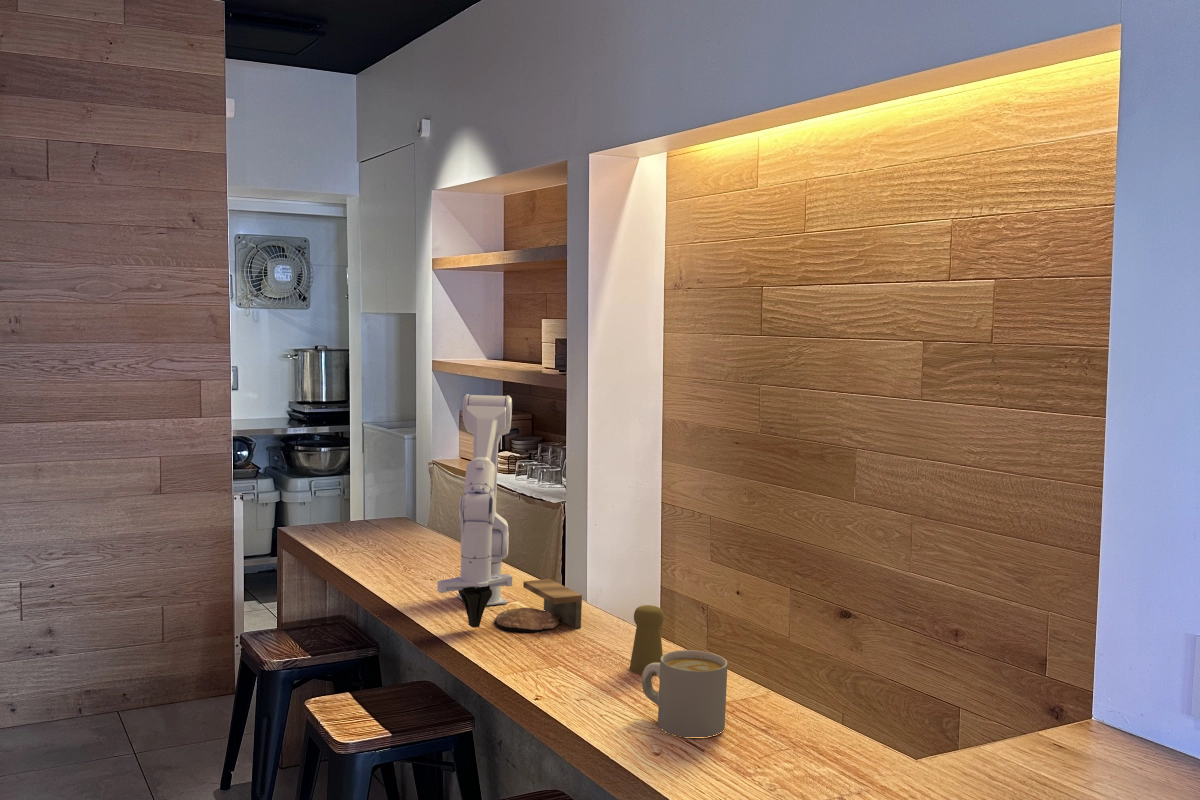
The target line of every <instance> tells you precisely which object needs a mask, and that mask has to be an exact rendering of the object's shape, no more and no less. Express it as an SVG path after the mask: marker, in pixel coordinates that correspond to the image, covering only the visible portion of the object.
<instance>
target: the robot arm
mask: <svg viewBox="0 0 1200 800" xmlns="http://www.w3.org/2000/svg"><path fill="white" fill-rule="evenodd" d="M512 399H513V398H512V397H511V396H510V395H483V394H480V395H479V394H469V393H467V394H465V396H464V397H463V400H462V401H463V402H462V422H463V424H464V428H465V429H466V432H467V433H469V434H472V435H473V436H472V437H473V442H472V443H473V445H472V446H473V448H472V449H473V451H472V453H473V454H472V456H473V457H472V458H473V459H472V460H470V461H468V463H467V465H466V466H465V467H466V470H465V478H464V487H463V495H462V494H461V495H460V498H459V507H458V509H459V510H458V511H459V512H458V513H459V516H458V517H459V522H460V524H459V525H460V534H461V535H460V574H459V575H460V576H457V577H453V578H447V579H442V580H437V589H436V590H437V592H439V593H440V594H444V593H445V594H446V593H448V592H455V591H457V592H458V593H457V594H456V597H457V598H458V599H460V600H461V601H462V602H463V605H464V608H465V613H466V615H467V621H468V626H469V627H471V628H473V629H474V628H480V626H481V622H482V617H483V614H484V612H485V609H486V607H487V606H495V605H496V606H497V605H505V604H508V600H507V599H505V598H504V597H502V596H501V595H502V594H501V593H502V587H504V586H506V587H512V586H513V575H511V574H508V573H506V574H505V573H504V574H502V561H503V559H504V560H505V559H506V558H507V557H508V556H509V544H510V540H509V537H510V536H509V535H510V534H509V524H508V521H507V520H506V519H505V518H504V517H502V516H501V514H499V513H497V494H498V493H497V491H498V489H497V488H498V487H497V486H498V463H499V462H498V461H499V459H498V458H499V444H500V441H501V438H502V436H505V435H508V434H510V430H511V427H512V417H513V416H512V415H513V414H512V413H513V411H512V410H513V400H512Z"/></svg>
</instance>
